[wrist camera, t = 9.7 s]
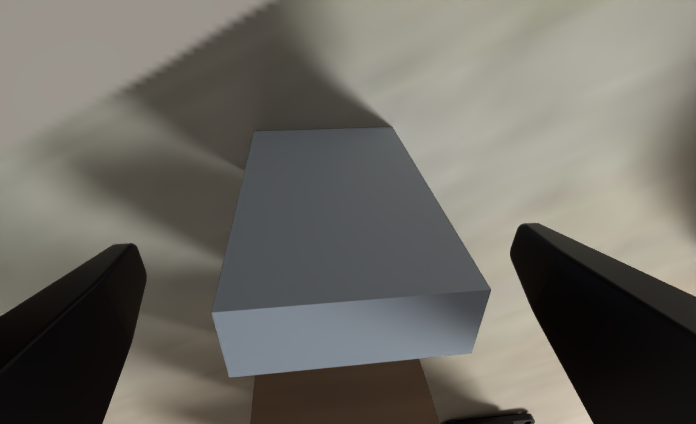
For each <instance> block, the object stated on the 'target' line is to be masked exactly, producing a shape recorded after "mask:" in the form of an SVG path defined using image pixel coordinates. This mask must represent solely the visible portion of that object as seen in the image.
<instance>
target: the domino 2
mask: <svg viewBox="0 0 696 424" xmlns="http://www.w3.org/2000/svg"><path fill="white" fill-rule="evenodd" d="M251 424H440V423H439V420H438V417H437V414H436V411H435V408H434V404H433V401H432V398H431V395H430V392H429V389H428V386H427V382H426V379H425V376H424V373H423V370H422V367H421V363H420V360H419V359H410V360H400V361H390V362H380V363H371V364H361V365H351V366H341V367H331V368H321V369H311V370H301V371H291V372H281V373H271V374H261V375H255V382H254V392H253V403H252V414H251Z"/></svg>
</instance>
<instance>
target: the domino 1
mask: <svg viewBox="0 0 696 424" xmlns="http://www.w3.org/2000/svg"><path fill="white" fill-rule="evenodd" d="M490 292H491V289H490V287H489V285H488V284H487V282H486V280H485V279H484V277H483V275H482V274H481V272H480V270H479V269H478V267H477V266H476V264H475V262H474V261H473V259H472V257H471V256H470V254H469V252H468V251H467V249H466V247H465V246H464V244H463V242H462V241H461V239H460V238H459V236H458V234H457V233H456V231H455V229H454V228H453V226H452V224H451V223H450V221H449V219H448V218H447V216H446V214H445V213H444V211H443V210H442V208H441V206H440V205H439V203H438V201H437V200H436V198H435V196H434V195H433V193H432V191H431V190H430V188H429V186H428V185H427V183H426V182H425V180H424V178H423V177H422V175H421V173H420V172H419V170H418V168H417V167H416V165H415V163H414V162H413V160H412V158H411V157H410V155H409V153H408V152H407V150H406V149H405V147H404V145H403V144H402V142H401V140H400V139H399V137H398V135H397V134H396V132H395V130H394V129H393V127H374V128H342V129H311V130H279V131H254V134H253V138H252V142H251V147H250V151H249V155H248V159H247V164H246V168H245V172H244V176H243V181H242V185H241V189H240V193H239V197H238V202H237V206H236V210H235V214H234V219H233V223H232V227H231V231H230V236H229V240H228V244H227V248H226V253H225V257H224V261H223V265H222V270H221V274H220V278H219V282H218V286H217V291H216V295H215V299H214V303H213V308H212V312H211V313H212V317H213V321H214V324H215V328H216V331H217V335H218V339H219V342H220V346H221V350H222V353H223V357H224V361H225V364H226V368H227V372H228V375H229V378H232V377H241V376H251V375H261V374H271V373H281V372H291V371H301V370H311V369H321V368H331V367H341V366H351V365H361V364H371V363H380V362H390V361H400V360H410V359H420V358H430V357H440V356H450V355H460V354H470V353H472V350H473V347H474V343H475V340H476V337H477V334H478V330H479V327H480V324H481V321H482V318H483V314H484V311H485V308H486V305H487V302H488V298H489V295H490Z"/></svg>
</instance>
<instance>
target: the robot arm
mask: <svg viewBox="0 0 696 424" xmlns="http://www.w3.org/2000/svg"><path fill="white" fill-rule="evenodd" d="M510 257H511V260H512V263H513V265H514V268H515V270H516V272H517V275H518V277H519V280H520V282H521V285H522V287H523V289H524V292H525V294H526V297H527V299H528V302H529V304H530V306H531V308H532V311H533V313H534V315H535V317H536V318H537V320H538V322H539V324H540V326H541V328H542V330H543V331H544V333H545V335H546V337H547V339H548V341H549V343H550V344H551V346H552V348H553V350H554V352H555V354H556V355H557V357H558V359H559V361H560V363H561V365H562V366H563V368H564V370H565V372H566V374H567V376H568V378H569V379H570V381H571V383H572V385H573V387H574V389H575V390H576V392H577V394H578V396H579V398H580V400H581V401H582V403H583V405H584V407H585V409H586V411H587V413H588V414H589V416H590V418H591V420H592V422H593V424H696V297H695V296H693V295H691V294H689V293H686V292H684V291H682V290H680V289H678V288H676V287H674V286H671V285H669V284H667V283H665V282H663V281H661V280H659V279H657V278H654V277H652V276H650V275H648V274H646V273H644V272H642V271H639V270H637V269H635V268H633V267H631V266H629V265H627V264H624V263H622V262H620V261H618V260H616V259H614V258H612V257H609V256H607V255H605V254H603V253H601V252H599V251H597V250H595V249H592V248H590V247H588V246H586V245H584V244H582V243H580V242H577V241H575V240H573V239H571V238H569V237H567V236H565V235H562V234H560V233H558V232H556V231H554V230H552V229H550V228H547V227H545V226H543V225H541V224H539V223H524V224H521V225H520V226H519V227H518V229H517V231H516V234H515V237H514V240H513V243H512V246H511V249H510ZM146 280H147V274H146V270H145V267H144V264H143V261H142V259H141V256H140V253H139V250H138V248H137V246H136V245H134V244H132V243H129V244H115V245H112V246H110V247H109V248H107V249H106V250H104V251H103V252H101V253H99V254H98V255H96V256H95V257H93V258H92V259H90V260H88V261H87V262H85V263H84V264H82V265H81V266H79V267H77V268H76V269H74V270H73V271H71V272H70V273H68V274H66V275H65V276H63V277H62V278H60V279H59V280H57V281H55V282H54V283H52V284H51V285H49V286H48V287H46V288H44V289H43V290H41V291H40V292H38V293H37V294H35V295H33V296H32V297H30V298H29V299H27V300H26V301H24V302H22V303H21V304H19V305H18V306H16V307H15V308H13V309H11V310H10V311H8V312H7V313H5V314H4V315H2V316H0V424H102V423H103V421H104V418H105V415H106V412H107V410H108V407H109V404H110V401H111V399H112V396H113V393H114V390H115V388H116V385H117V382H118V380H119V377H120V374H121V371H122V369H123V366H124V363H125V360H126V358H127V355H128V352H129V349H130V346H131V343H132V339H133V336H134V332H135V328H136V323H137V319H138V315H139V311H140V306H141V302H142V298H143V294H144V289H145V285H146ZM534 423H535V420H534V418H533V417H532V415H531V414H519V415H510V416H502V417H493V418H484V419H475V420H466V421H458V422H449V423H446V424H534Z"/></svg>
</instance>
